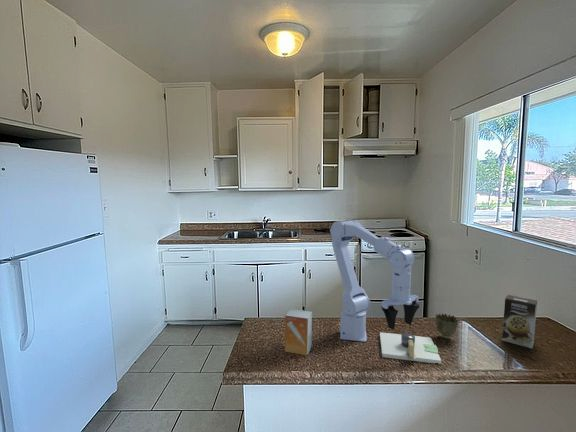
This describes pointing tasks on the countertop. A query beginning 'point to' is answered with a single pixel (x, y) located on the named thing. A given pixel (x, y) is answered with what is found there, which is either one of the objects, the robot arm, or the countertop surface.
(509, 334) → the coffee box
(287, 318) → the small box
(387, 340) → the dial board
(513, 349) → the countertop surface
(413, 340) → the grey and tan piece
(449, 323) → the olive rounded piece
